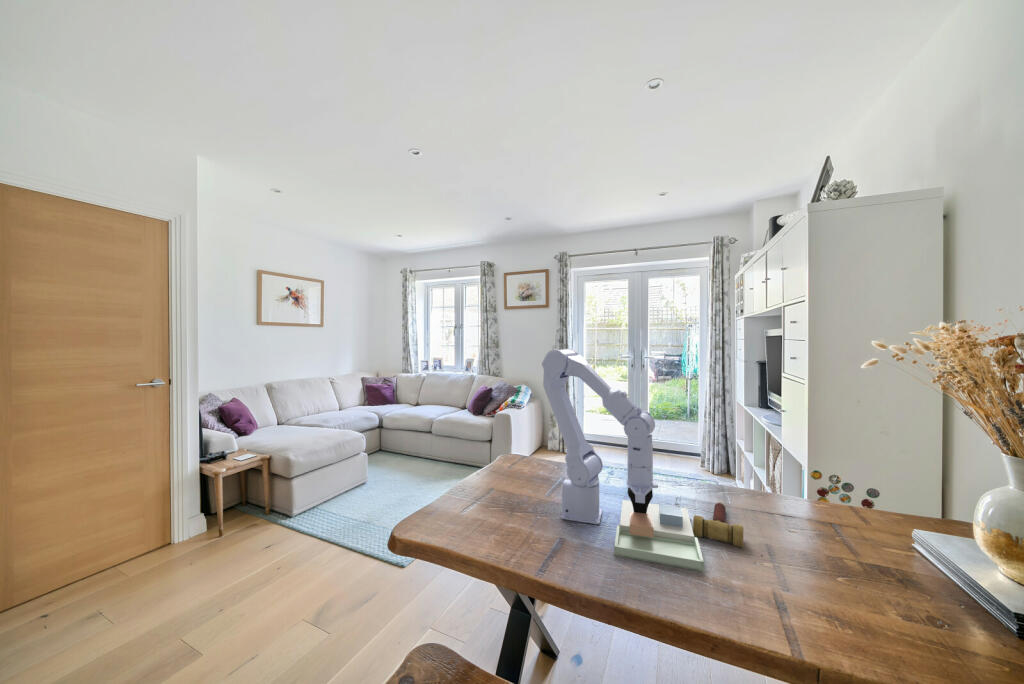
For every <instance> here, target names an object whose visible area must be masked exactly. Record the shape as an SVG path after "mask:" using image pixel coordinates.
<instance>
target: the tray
mask: <svg viewBox="0 0 1024 684" xmlns="http://www.w3.org/2000/svg"><path fill="white" fill-rule="evenodd" d="M615 532H616V533H615V539H614V556H616V557H621V558H627V559H631V560H637V561H638V560H639V561H643V562H647V563H648V562H649V563H653V564H654V563H655V564H660V565H665V566H668V567H669V566H670V567H675V568H682V569H686V570H692V571H697V572H702V573H703V572H705V561H704V558H703V554H702V550H701V546H700V542H699V537H697V536H694V542H688V541H681V540H675V539H669V538H663V537H657V536H653V537H645V536H638V535H631V534H630V532H626V531H620V524H619V525H616V531H615Z"/></svg>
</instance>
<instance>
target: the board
mask: <svg viewBox="0 0 1024 684" xmlns="http://www.w3.org/2000/svg"><path fill="white" fill-rule="evenodd" d="M620 511H621V512H620V521H619V526H620V531H626V532H630V512H634V510H633V505H632V502H631V500H626V499H622V503H621V510H620ZM681 511H682V516H683V527H677V526H671V525H664V524H660V521H659V504H656V503H655V504H654V503H649V505H648V508H647V513H646V514H652V520H653V536H657V537H663V538H669V539H675V540H681V541H688V542H694V537H695V536H694V534H693V525H692V523H691V520H690V516H689V511H688V508H686V507H681Z"/></svg>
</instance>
